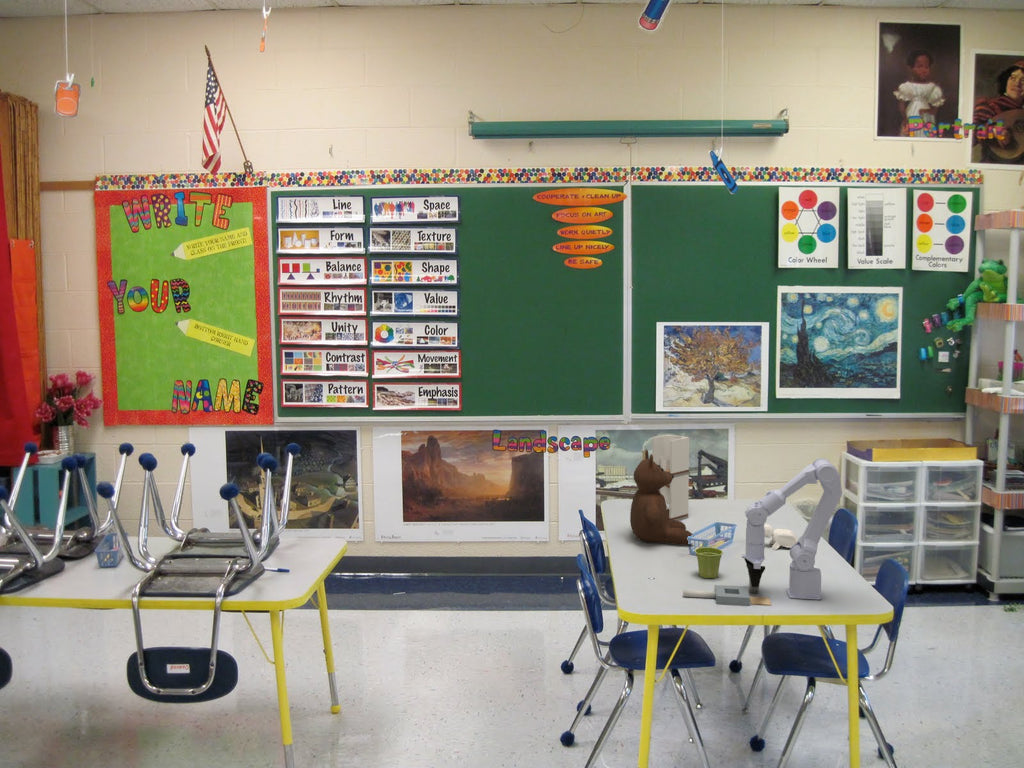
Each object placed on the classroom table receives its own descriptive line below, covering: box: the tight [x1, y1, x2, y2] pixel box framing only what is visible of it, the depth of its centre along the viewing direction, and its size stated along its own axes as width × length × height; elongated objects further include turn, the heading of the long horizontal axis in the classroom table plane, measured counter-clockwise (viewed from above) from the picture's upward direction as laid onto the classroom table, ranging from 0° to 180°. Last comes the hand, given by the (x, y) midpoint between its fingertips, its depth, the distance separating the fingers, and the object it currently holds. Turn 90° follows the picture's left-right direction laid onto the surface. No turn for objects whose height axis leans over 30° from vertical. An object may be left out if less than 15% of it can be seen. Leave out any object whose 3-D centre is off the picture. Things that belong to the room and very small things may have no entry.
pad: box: [749, 595, 772, 607], centre depth 262 cm, size 6×6×1 cm
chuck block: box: [682, 584, 751, 607], centre depth 265 cm, size 20×10×2 cm, turn 80°
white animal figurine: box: [764, 523, 799, 551], centre depth 317 cm, size 9×8×15 cm
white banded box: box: [651, 433, 690, 522], centre depth 356 cm, size 11×11×35 cm
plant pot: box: [694, 546, 724, 579], centre depth 285 cm, size 9×9×9 cm
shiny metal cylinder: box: [748, 573, 760, 595], centre depth 269 cm, size 3×3×8 cm
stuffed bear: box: [629, 449, 694, 546], centre depth 325 cm, size 29×23×35 cm
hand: (754, 583), depth 269 cm, fingers open, 5 cm apart
